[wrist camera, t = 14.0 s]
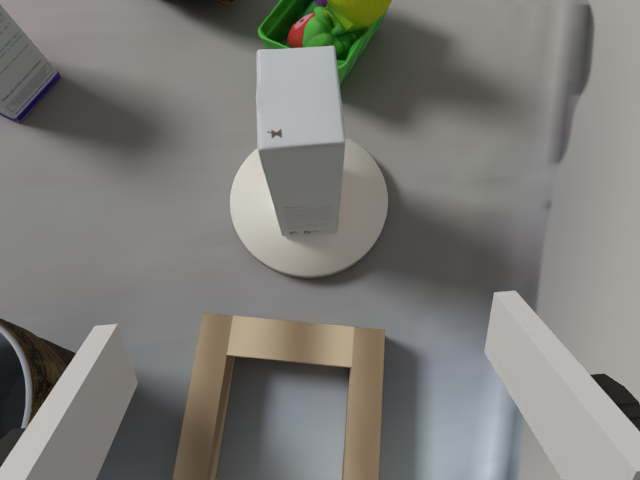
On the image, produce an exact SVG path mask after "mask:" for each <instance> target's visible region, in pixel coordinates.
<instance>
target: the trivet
mask: <svg viewBox="0 0 640 480" xmlns="http://www.w3.org/2000/svg"><path fill="white" fill-rule="evenodd" d="M387 210H388V192H387V186H386V183H385V180H384V176H383V174H382V172H381V170H380V168H379V167H378V165H377V164H376V162H375V160H374V159H373V158H372V157H371V156H370V155H369V154H368V152H366V151H365V150H364V149H363V148H362V147H361V146H359V145H358V144H356V143H355V142H353V141H352V140H350V139H348V138H346V137H345V153H344V166H343V177H342V189H341V201H340V211H339V224H338V232H337V233H327V234H311V235H296V236H282V234H281V230H280V227H279V224H278V220H277V217H276V213H275V209H274V205H273V202H272V199H271V195H270V192H269V188H268V185H267V181H266V178H265V174H264V171H263V168H262V164H261V161H260V157H259V153H258V148H257V149H256V150H255V151H253V152H252V153H251V155H250V156H249V157H248V158H247V159H246V160H245V161H244V163H243V164H242V165H241V167H240V169H239V171H238V172H237V174H236V177H235V179H234V182H233V186H232V190H231V196H230V211H231V217H232V221H233V224H234V227H235V230H236V232H237V234H238V236H239V238H240V239H241V241H242V242H243V244H244V245H245V247H246V248H247V250H248V251H249V252H250V253H251V254H252V255H253V256H254V257H255V258H256V259H257V260H258V261H259V262H261V263H262V264H263V265H265V266H266V267H268V268H270V269H271V270H274V271H276V272H278V273H280V274H284V275H287V276H291V277H297V278H321V277H326V276H330V275H334V274H337V273H339V272H342V271H344V270H346V269H348V268H350V267H351V266H353V265H354V264H356V263H357V262H359V261H360V260H361V259H362V258H363V257H364V256H365V255H366V254H367V253H368V252H369V251H370V250H371V248H372V247H373V246H374V244H375V243H376V241H377V239H378V238H379V236H380V233H381V231H382V228H383V226H384V223H385V219H386V216H387Z"/></svg>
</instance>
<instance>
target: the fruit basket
mask: <svg viewBox="0 0 640 480" xmlns="http://www.w3.org/2000/svg"><path fill="white" fill-rule="evenodd" d="M391 1H392V0H280V2H279V3H278V4H277V6H276V7H275V8H274V9H273V10H272V12H271V13H270V14H269V16H268V17H267V18H266V19H265V20H264V22H263V23H262V24H261V25H260V27H259V29H258V34H259V36H260V38H261V39H262V41H263V42H264V44H265V45H266V46H267V47H268V48H269V49H288V48H305V47H320V46H335V49H336V59H337V68H338V76H339V85H340V86H341V84H342V81H343V79H344V78H345V77H347V75H348V74H349V72H350V71H351V69H352V68H353V66H354V64H355V62H356V59H358V58H359V57H360V56H361V54H362V53H363V51H364V50H365V48H366V47H367V44H368V42H369V40H370V39H372V37H373V36H374V35H375V33H376V31H377V30H378V28H379V26H380V24H381V22H382V20H383V17H384V15H385V13H386V11H387V9H388V7H389V5H390V3H391Z"/></svg>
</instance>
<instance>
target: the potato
mask: <svg viewBox="0 0 640 480" xmlns="http://www.w3.org/2000/svg"><path fill="white" fill-rule="evenodd" d="M232 1H234V0H218V2H221V3H220V4H231V3H232Z"/></svg>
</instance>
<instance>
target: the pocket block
mask: <svg viewBox="0 0 640 480" xmlns="http://www.w3.org/2000/svg"><path fill="white" fill-rule="evenodd" d="M384 344H385V330H381V329H370V328H360V327H349V326H338V325H328V324H317V323H306V322H295V321H285V320H274V319H263V318H253V317H242V316H231V315H221V314H210V313H203V317H202V322H201V328H200V333H199V338H198V344H197V349H196V355H195V360H194V365H193V371H192V376H191V382H190V387H189V392H188V398H187V403H186V409H185V414H184V419H183V425H182V430H181V436H180V441H179V446H178V452H177V457H176V463H175V468H174V473H173V479H172V480H216V476H217V470H218V463H219V457H220V450H221V444H222V438H223V431H224V425H225V418H226V412H227V405H228V399H229V392H230V386H231V379H232V373H233V367H234V360H235V357H242V358H252V359H262V360H272V361H283V362H293V363H303V364H313V365H323V366H334V367H344V368H349V383H348V398H347V413H346V427H345V442H344V457H343V472H342V480H379V462H380V439H381V415H382V392H383V368H384Z"/></svg>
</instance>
